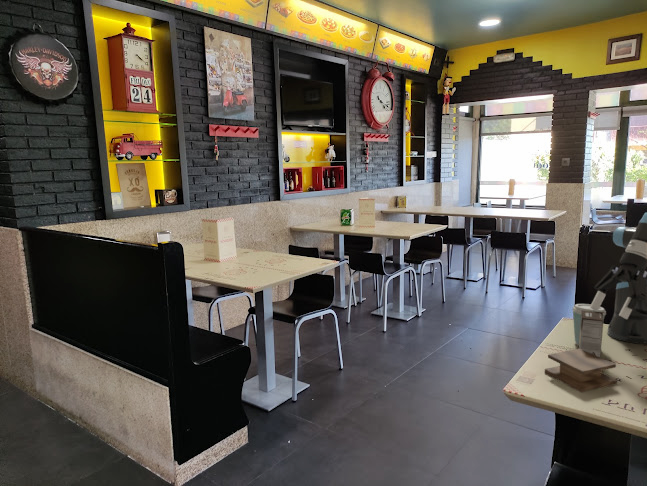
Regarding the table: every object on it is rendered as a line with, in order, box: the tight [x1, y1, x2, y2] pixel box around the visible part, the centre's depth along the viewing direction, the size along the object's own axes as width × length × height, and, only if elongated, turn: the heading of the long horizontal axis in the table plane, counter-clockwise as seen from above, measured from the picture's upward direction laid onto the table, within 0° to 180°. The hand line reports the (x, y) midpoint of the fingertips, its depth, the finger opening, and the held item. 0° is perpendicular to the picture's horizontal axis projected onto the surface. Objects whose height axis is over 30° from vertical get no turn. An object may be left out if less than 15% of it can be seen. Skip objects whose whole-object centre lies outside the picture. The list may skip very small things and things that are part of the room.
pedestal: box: [544, 348, 618, 393], centre depth 143 cm, size 14×14×6 cm
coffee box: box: [578, 310, 605, 358], centre depth 155 cm, size 9×6×16 cm
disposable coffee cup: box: [571, 303, 607, 346], centre depth 167 cm, size 11×11×15 cm
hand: (607, 313), depth 151 cm, fingers open, 13 cm apart
